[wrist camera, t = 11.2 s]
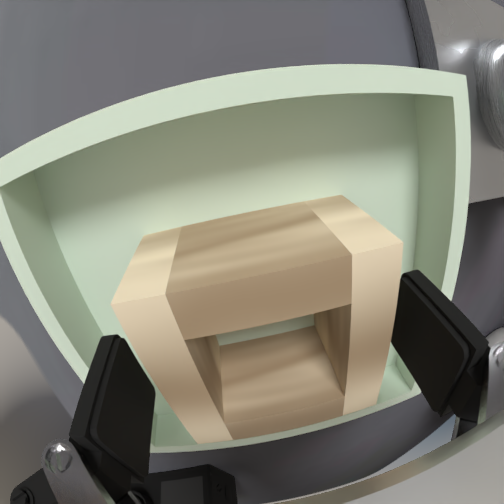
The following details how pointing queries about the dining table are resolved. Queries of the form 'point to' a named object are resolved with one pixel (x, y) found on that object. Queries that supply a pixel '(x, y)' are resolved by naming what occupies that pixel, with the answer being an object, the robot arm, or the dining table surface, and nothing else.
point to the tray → (235, 192)
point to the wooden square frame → (264, 316)
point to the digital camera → (187, 487)
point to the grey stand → (470, 75)
